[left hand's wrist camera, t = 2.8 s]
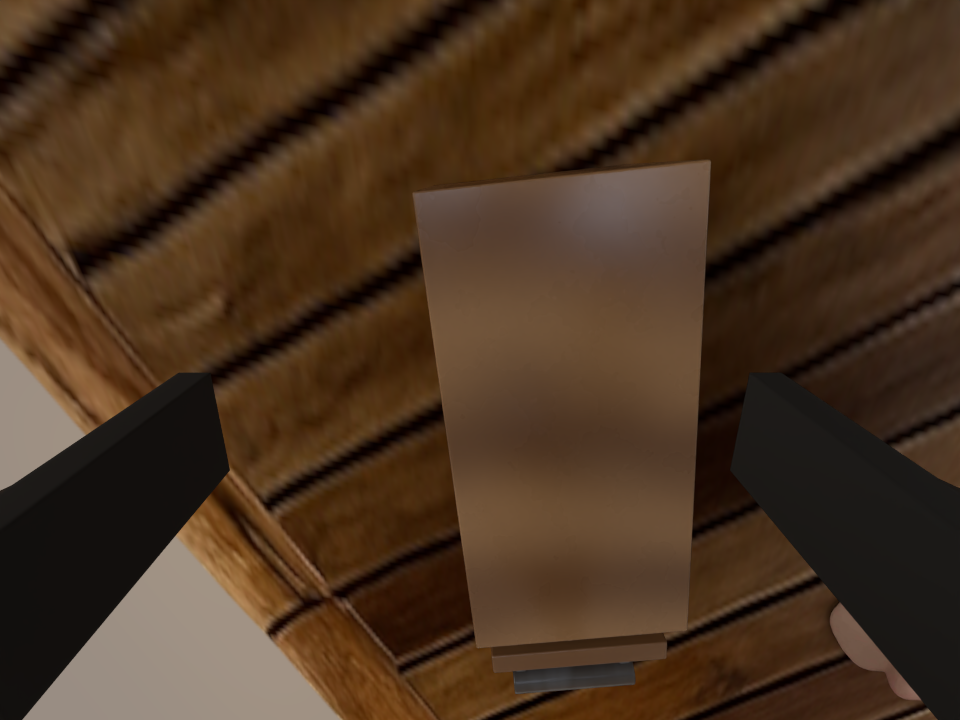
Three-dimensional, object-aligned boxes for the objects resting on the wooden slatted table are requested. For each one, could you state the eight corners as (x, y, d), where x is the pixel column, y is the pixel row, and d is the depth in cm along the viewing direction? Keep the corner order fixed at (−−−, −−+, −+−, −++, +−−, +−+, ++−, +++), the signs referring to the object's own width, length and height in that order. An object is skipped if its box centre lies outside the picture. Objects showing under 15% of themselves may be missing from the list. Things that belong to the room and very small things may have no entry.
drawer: (627, 619, 36) (664, 729, 29) (497, 630, 36) (502, 742, 29) (625, 250, 27) (679, 277, 20) (453, 268, 27) (445, 302, 20)
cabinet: (631, 510, 34) (687, 631, 25) (476, 524, 34) (476, 649, 25) (632, 164, 26) (712, 159, 17) (432, 185, 27) (411, 191, 18)
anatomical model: (837, 687, 34) (974, 567, 30) (801, 636, 37) (919, 524, 34) (975, 753, 36) (1116, 648, 33) (928, 699, 40) (1050, 600, 36)
